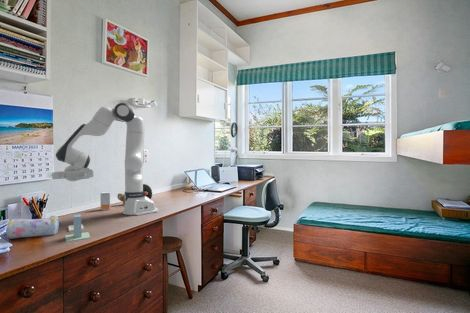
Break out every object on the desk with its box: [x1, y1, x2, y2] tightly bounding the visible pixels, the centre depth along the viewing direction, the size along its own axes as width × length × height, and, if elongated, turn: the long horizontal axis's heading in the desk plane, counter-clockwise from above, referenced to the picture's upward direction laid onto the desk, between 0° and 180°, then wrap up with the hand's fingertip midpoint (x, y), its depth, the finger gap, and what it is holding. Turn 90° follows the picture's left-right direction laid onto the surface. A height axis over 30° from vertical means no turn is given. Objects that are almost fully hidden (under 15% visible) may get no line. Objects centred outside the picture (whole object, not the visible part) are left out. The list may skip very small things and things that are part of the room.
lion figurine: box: [116, 193, 125, 206], centre depth 212 cm, size 15×5×9 cm, turn 113°
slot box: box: [67, 223, 85, 233], centre depth 149 cm, size 7×8×2 cm
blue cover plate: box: [72, 214, 82, 238], centre depth 137 cm, size 3×4×10 cm, turn 32°
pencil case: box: [6, 215, 61, 240], centre depth 138 cm, size 21×9×10 cm, turn 111°
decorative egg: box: [143, 183, 153, 200], centre depth 215 cm, size 12×12×15 cm
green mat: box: [65, 231, 91, 243], centre depth 137 cm, size 10×10×1 cm
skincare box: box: [100, 191, 111, 211], centre depth 196 cm, size 6×4×12 cm
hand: (74, 175), depth 154 cm, fingers open, 8 cm apart
